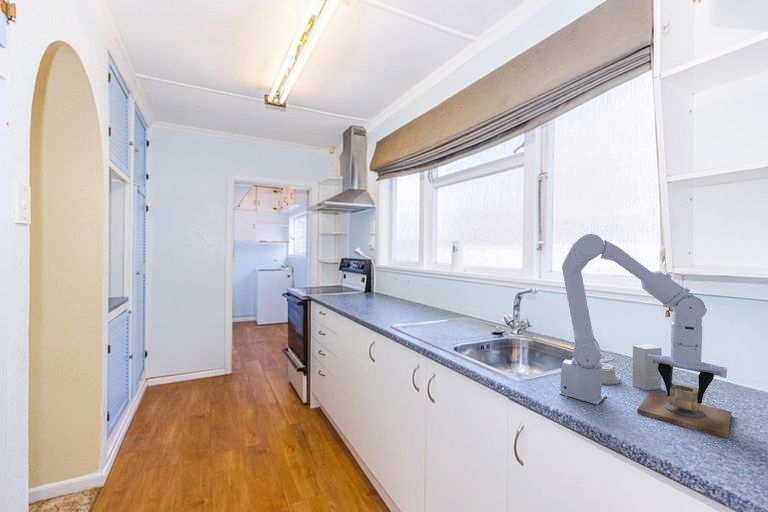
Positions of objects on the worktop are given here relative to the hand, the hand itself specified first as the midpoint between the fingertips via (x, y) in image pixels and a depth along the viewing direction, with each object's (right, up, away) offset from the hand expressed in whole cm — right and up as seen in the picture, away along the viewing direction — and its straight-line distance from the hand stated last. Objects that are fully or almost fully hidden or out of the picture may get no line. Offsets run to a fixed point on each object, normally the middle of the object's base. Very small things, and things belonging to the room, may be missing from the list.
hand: (684, 398), depth 87 cm
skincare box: (+3, -4, +17) cm, 18 cm away
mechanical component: (-6, -4, +24) cm, 25 cm away
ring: (0, -1, 0) cm, 1 cm away
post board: (0, -4, 0) cm, 4 cm away
